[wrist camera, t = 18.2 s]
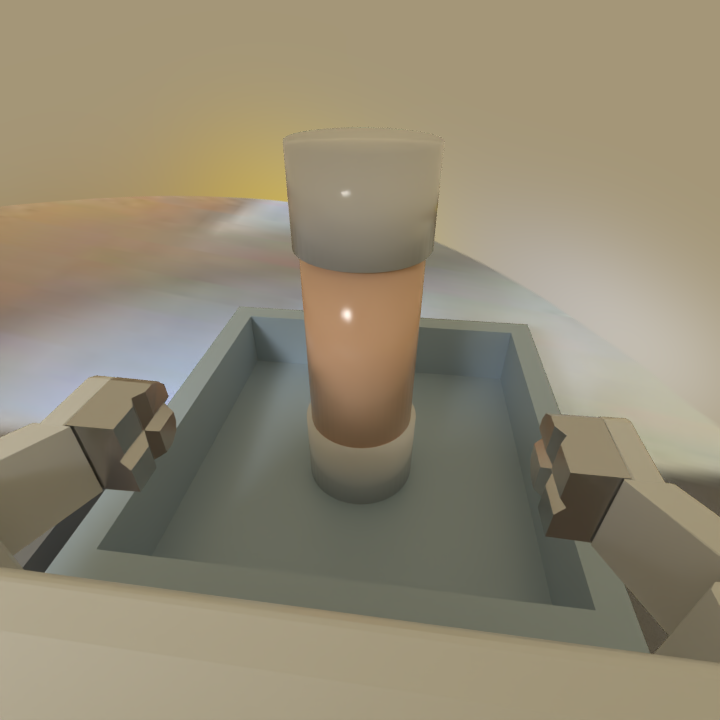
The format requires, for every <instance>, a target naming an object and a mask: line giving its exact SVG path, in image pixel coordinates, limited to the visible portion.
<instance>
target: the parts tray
mask: <svg viewBox="0 0 720 720" xmlns="http://www.w3.org/2000/svg"><path fill="white" fill-rule="evenodd" d="M310 402H311V400H310V387H309V374H308V361H307V348H306V336H305V323H304V311H302V310H286V309H270V308H254V307H239V308H238V309H237V311H236V312H235V314H234V315H233V316H232V318H231V319H230V320H229V322H228V323H227V324H226V326H225V327H224V329H223V330H222V331H221V333H220V334H219V335H218V337H217V338H216V339H215V341H214V342H213V344H212V345H211V346H210V348H209V349H208V350H207V352H206V353H205V354H204V356H203V357H202V359H201V360H200V361H199V363H198V364H197V365H196V367H195V368H194V369H193V371H192V372H191V374H190V375H189V376H188V378H187V379H186V380H185V382H184V383H183V384H182V386H181V387H180V389H179V390H178V391H177V393H176V394H175V395H174V397H173V398H172V399H171V401H170V402H169V404H168V405H167V406H168V407H169V408H170V409H171V410H172V411H173V412H174V415H175V418H176V433H175V437H174V441H173V443H172V445H171V446H170V448H169V450H168V451H167V453H165V454H163V455H162V456H160V457H158V458H157V459H155V461H156V467H157V468H156V470H155V471H154V473H153V474H152V476H151V477H150V479H149V480H148V482H147V483H146V485H145V486H144V488H143V489H142V491H141V492H135V491H123V490H110V489H105V491H104V492H103V494H102V495H101V496H100V498H99V499H98V500H97V502H96V503H95V504H94V506H93V507H92V509H91V510H90V511H89V513H88V514H87V515H86V517H85V518H84V519H83V521H82V522H81V524H80V525H79V526H78V528H77V529H76V530H75V532H74V533H73V535H72V536H71V537H70V539H69V540H68V541H67V543H66V544H65V545H64V547H63V548H62V550H61V551H60V552H59V554H58V555H57V556H56V558H55V559H54V560H53V562H52V563H51V565H50V566H49V567H48V569H47V570H46V571H45V573H50V574H58V575H65V576H73V577H80V578H88V579H95V580H103V581H110V582H118V583H125V584H133V585H140V586H147V587H155V588H162V589H170V590H177V591H185V592H192V593H200V594H208V595H215V596H223V597H230V598H238V599H245V600H253V601H260V602H268V603H275V604H283V605H291V606H298V607H306V608H313V609H321V610H328V611H336V612H343V613H351V614H358V615H365V616H373V617H380V618H388V619H395V620H403V621H410V622H418V623H425V624H433V625H440V626H448V627H455V628H463V629H470V630H478V631H485V632H493V633H500V634H508V635H515V636H522V637H530V638H537V639H545V640H552V641H560V642H567V643H575V644H582V645H590V646H597V647H605V648H612V649H620V650H627V651H635V652H642V653H650V651H649V649H648V646H647V643H646V641H645V638H644V635H643V633H642V630H641V627H640V625H639V622H638V619H637V617H636V614H635V611H634V609H633V606H632V603H631V601H630V598H629V595H628V592H627V590H626V587H625V584H624V583H623V582H622V581H621V579H620V578H619V577H618V576H617V575H616V574H615V573H614V571H613V570H612V569H611V568H610V567H609V566H608V564H607V563H606V562H605V561H604V560H603V559H602V557H601V556H600V555H599V554H598V553H597V552H596V550H595V549H594V548H593V547H592V546H591V543H590V542H582V541H575V540H568V539H560V538H553V537H546V536H545V534H544V530H543V526H542V522H541V518H540V514H539V510H538V505H539V502H540V499H541V496H540V495H539V494H538V493H537V492H536V491H535V490H534V489H533V485H532V481H531V473H530V462H531V454H532V450H533V446H534V443H536V442H537V441H539V440H540V439H542V436H541V432H540V429H539V427H540V424H541V421H542V418H543V417H544V415H545V414H546V413H549V414H561V413H560V410H559V408H558V405H557V402H556V400H555V397H554V394H553V392H552V389H551V386H550V384H549V381H548V378H547V376H546V373H545V370H544V368H543V365H542V362H541V360H540V357H539V354H538V352H537V349H536V346H535V344H534V341H533V338H532V335H531V333H530V330H529V327H528V325H527V324H511V323H495V322H479V321H463V320H447V319H431V318H420V324H419V335H418V345H417V356H416V366H415V377H414V388H413V398H412V403H413V406H414V408H415V412H416V419H415V429H414V439H413V448H412V458H411V468H410V474H409V477H408V479H407V481H406V483H405V484H404V486H403V487H402V488H401V489H400V490H399V491H398V492H397V493H396V494H394V495H393V496H391V497H389V498H387V499H385V500H383V501H379V502H376V503H371V504H352V503H346V502H343V501H340V500H337V499H335V498H333V497H331V496H329V495H328V494H327V493H325V492H324V491H323V490H322V489H321V488H320V487H319V486H318V484H317V483H316V481H315V480H314V477H313V474H312V470H311V460H310V448H309V437H308V425H307V410H308V406H309V404H310Z"/></svg>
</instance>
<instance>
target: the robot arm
mask: <svg viewBox="0 0 720 720" xmlns="http://www.w3.org/2000/svg"><path fill="white" fill-rule="evenodd" d="M167 398H168V394H167V391H166V388H165V386H164V384H162V383H160V382H157V381H148V380H138V379H129V378H119V377H117V378H115V377H106V376H93V377H89V378H88V379H87V380H86V381H84V382H83V383H82V384H81V385H80V386H79V387H78V388H77V389H76V390H75V391H74V392H73V393H72V394H71V395H70V396H68V397H67V398H66V399H65V400H64V401H63V402H62V403H61V404H60V405H59V406H58V407H57V408H56V409H55V410H54V411H52V412H51V413H50V414H49V415H48V416H47V417H46V418H45V419H44V420H43V421H42V422H41V423H40V424H38V423H32V424H29V425H27V426H25V427H23V428H20V429H18V430H16V431H13V432H11V433H9V434H7V435H4V436H2V437H0V720H720V517H719V516H718V515H716V514H715V513H714V512H712V511H711V510H709V509H708V508H707V507H705V506H704V505H703V504H701V503H700V502H698V501H697V500H696V499H694V498H693V497H691V496H690V495H689V494H687V493H686V492H685V491H683V490H682V489H680V488H679V487H678V486H676V485H675V484H670V483H665V482H664V480H663V478H662V476H661V475H660V473H659V471H658V469H657V467H656V466H655V464H654V462H653V460H652V459H651V457H650V455H649V453H648V451H647V450H646V448H645V446H644V444H643V442H642V441H641V439H640V437H639V435H638V434H637V432H636V430H635V428H634V426H633V425H632V423H631V422H630V421H629V420H628V419H626V418H612V417H589V416H576V415H562V414H549V413H546V414H545V415H544V417H543V418H542V421H541V424H540V427H539V429H540V432H541V436H542V439H540V440H539V441H537V442H536V443H534V446H533V450H532V454H531V462H530V473H531V481H532V485H533V489H534V490H535V491H536V492H537V493H538V494H539V495H540V496H541V499H540V502H539V505H538V510H539V514H540V518H541V522H542V526H543V530H544V534H545V536H546V537H553V538H560V539H568V540H575V541H582V542H590V543H591V546H592V547H593V548H594V549H595V550H596V552H597V553H598V554H599V555H600V556H601V557H602V559H603V560H604V561H605V562H606V563H607V564H608V566H609V567H610V568H611V569H612V570H613V571H614V573H615V574H616V575H617V576H618V577H619V578H620V579H621V581H622V582H623V583H624V584H625V585H626V586H627V588H628V589H629V590H630V591H631V592H632V593H633V595H634V596H635V597H636V598H637V599H638V600H639V602H640V603H641V604H642V605H643V606H644V607H645V609H646V610H647V611H648V612H649V613H650V614H651V616H652V617H653V618H654V619H655V620H656V621H657V623H658V624H659V625H660V626H661V627H662V628H663V630H664V631H665V632H666V633H667V634H668V635H669V637H668V638H667V639H666V640H665V641H664V643H663V644H662V645H661V646H660V647H659V648H658V650H657V651H656V652H655V653H654V654H650V653H642V652H635V651H627V650H620V649H612V648H605V647H597V646H590V645H582V644H575V643H567V642H560V641H552V640H545V639H537V638H530V637H522V636H515V635H508V634H500V633H493V632H485V631H478V630H470V629H463V628H455V627H448V626H440V625H433V624H425V623H418V622H410V621H403V620H395V619H388V618H380V617H373V616H365V615H358V614H351V613H343V612H336V611H328V610H321V609H313V608H306V607H298V606H291V605H283V604H275V603H268V602H260V601H253V600H245V599H238V598H230V597H223V596H215V595H208V594H200V593H192V592H185V591H177V590H170V589H162V588H155V587H147V586H140V585H133V584H125V583H118V582H110V581H103V580H95V579H88V578H80V577H73V576H65V575H58V574H50V573H43V572H36V571H28V570H24V569H23V568H22V567H21V565H20V564H19V563H18V562H17V560H16V559H15V558H14V557H13V555H15V554H16V553H17V552H19V551H20V550H22V549H23V548H24V547H26V546H27V545H29V544H30V543H31V542H33V541H34V540H36V539H37V538H38V537H40V536H41V535H42V534H44V533H45V532H47V531H48V530H49V529H51V528H52V527H54V526H55V525H56V524H58V523H59V522H61V521H62V520H63V519H65V518H66V517H67V516H69V515H70V514H72V513H73V512H74V511H76V510H77V509H79V508H80V507H81V506H83V505H84V504H86V503H87V502H88V501H90V500H91V499H93V498H94V497H95V496H97V495H98V494H99V493H101V492H102V491H103V489H110V490H123V491H135V492H141V491H142V489H143V488H144V486H145V485H146V483H147V482H148V480H149V479H150V477H151V476H152V474H153V473H154V471H155V470H156V468H157V467H156V461H155V459H157V458H158V457H160V456H162V455H163V454H165V453H167V451H168V450H169V448H170V446H171V445H172V443H173V441H174V437H175V433H176V418H175V415H174V412H173V411H172V410H171V409H170V408H169V407H168V406H167V405H166V404H165V401H166V400H167Z"/></svg>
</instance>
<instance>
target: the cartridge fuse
mask: <svg viewBox="0 0 720 720" xmlns="http://www.w3.org/2000/svg"><path fill="white" fill-rule="evenodd" d="M283 147H284V160H285V170H286V171H285V172H286V181H287V182H286V183H287V195H288V206H289V218H290V229H291V241H292V249H293V252H294V254H295V255H296V256H297V257H298V258H299V259H300V271H301V284H302V297H303V310H304V323H305V336H306V348H307V361H308V374H309V387H310V400H311V402H310V404H309V406H308V410H307V425H308V437H309V448H310V460H311V470H312V474H313V477H314V480H315V481H316V483H317V484H318V486H319V487H320V488H321V489H322V490H323V491H324V492H325V493H327V494H328V495H329V496H331V497H333V498H335V499H337V500H340V501H343V502H346V503H352V504H371V503H376V502H379V501H383V500H385V499H387V498H389V497H391V496H393V495H394V494H396V493H397V492H398V491H399V490H400V489H401V488H402V487H403V486H404V484H405V483H406V481H407V479H408V477H409V474H410V468H411V458H412V448H413V439H414V429H415V419H416V412H415V408H414V406H413V403H412V398H413V388H414V377H415V366H416V356H417V345H418V335H419V324H420V314H421V303H422V293H423V282H424V271H425V261H426V259H427V258H428V257H429V256H430V255H431V254H432V252H433V246H434V236H435V226H436V216H437V207H438V197H439V188H440V177H441V168H442V159H443V148H444V139H443V138H441V137H439V136H436V135H434V134H430V133H425V132H419V131H413V130H404V129H390V128H361V127H359V128H332V129H331V128H330V129H318V130H310V131H303V132H298V133H294V134H291V135H288V136H286V137H285V138H283Z"/></svg>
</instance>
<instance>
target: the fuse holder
mask: <svg viewBox="0 0 720 720" xmlns="http://www.w3.org/2000/svg"><path fill="white" fill-rule="evenodd" d="M104 491H105V489H103V491H102V492H101V493H99V494H98V495H97V496H95V497H94V498H93V499H91V500H90V501H88V502H87V503H86V504H84V505H83V506H81V507H80V508H79V509H77V510H76V511H74V512H73V513H72V514H70V515H69V516H67V517H66V518H65V519H63V520H62V521H61V522H59V523H58V524H56V525H55V526H54V527H52V528H51V529H49V530H48V531H47V532H45V533H44V534H42V535H41V536H40V537H38V538H37V539H36V540H34V541H33V542H31V543H30V544H29V545H27V546H26V547H24V548H23V549H22V550H20V551H19V552H17V553H16V554H15V555H13V557H14V558H15V559H16V560H17V562H18V563H19V564H20V565H21V567H22V568H23V569H24V570H28V571H36V572H43V573H45V571H46V570H47V569H48V567H49V566H50V565H51V563H52V562H53V560H54V559H55V558H56V556H57V555H58V554H59V552H60V551H61V550H62V548H63V547H64V545H65V544H66V543H67V541H68V540H69V539H70V537H71V536H72V535H73V533H74V532H75V530H76V529H77V528H78V526H79V525H80V524H81V522H82V521H83V519H84V518H85V517H86V515H87V514H88V513H89V511H90V510H91V509H92V507H93V506H94V504H95V503H96V502H97V500H98V499H99V498H100V496H101V495H102V494H103V492H104Z"/></svg>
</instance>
